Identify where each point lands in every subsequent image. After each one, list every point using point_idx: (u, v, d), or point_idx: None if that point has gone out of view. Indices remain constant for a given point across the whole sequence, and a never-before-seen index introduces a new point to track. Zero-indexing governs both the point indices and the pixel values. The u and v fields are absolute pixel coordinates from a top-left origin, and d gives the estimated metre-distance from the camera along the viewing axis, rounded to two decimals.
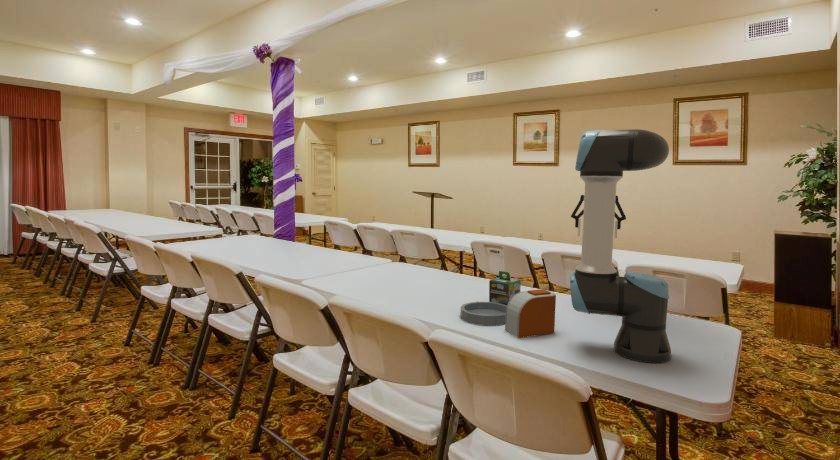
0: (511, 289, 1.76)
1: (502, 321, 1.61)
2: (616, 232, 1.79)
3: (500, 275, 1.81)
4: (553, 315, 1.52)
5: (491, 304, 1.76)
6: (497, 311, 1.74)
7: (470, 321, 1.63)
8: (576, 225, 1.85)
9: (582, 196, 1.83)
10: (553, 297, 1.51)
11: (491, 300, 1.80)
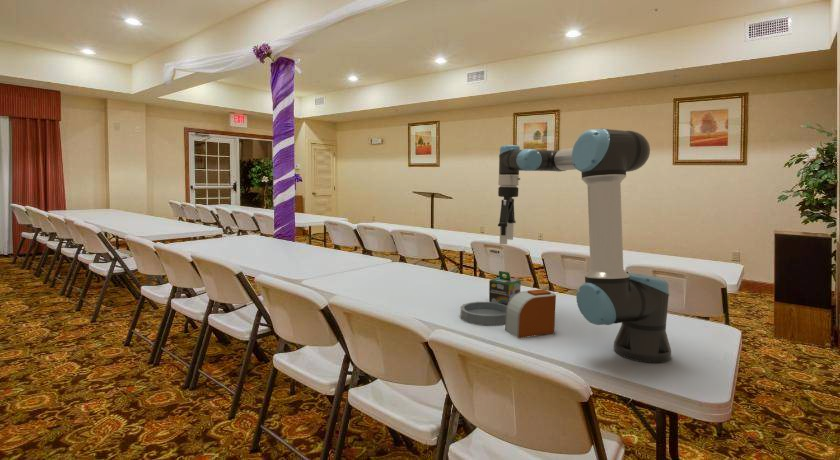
0: (511, 289, 1.76)
1: (502, 321, 1.61)
2: None
3: (500, 275, 1.81)
4: (553, 315, 1.52)
5: (491, 304, 1.76)
6: (497, 311, 1.74)
7: (470, 321, 1.63)
8: None
9: None
10: (553, 297, 1.51)
11: (491, 300, 1.80)
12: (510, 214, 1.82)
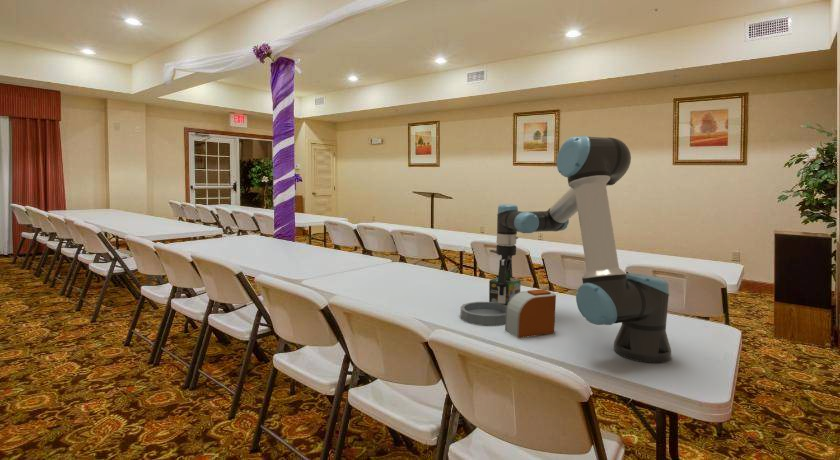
0: (511, 289, 1.76)
1: (502, 321, 1.61)
2: (498, 297, 1.75)
3: None
4: (553, 315, 1.52)
5: (491, 304, 1.76)
6: (497, 311, 1.74)
7: (470, 321, 1.63)
8: None
9: None
10: (553, 297, 1.51)
11: (491, 300, 1.80)
12: (508, 271, 1.84)
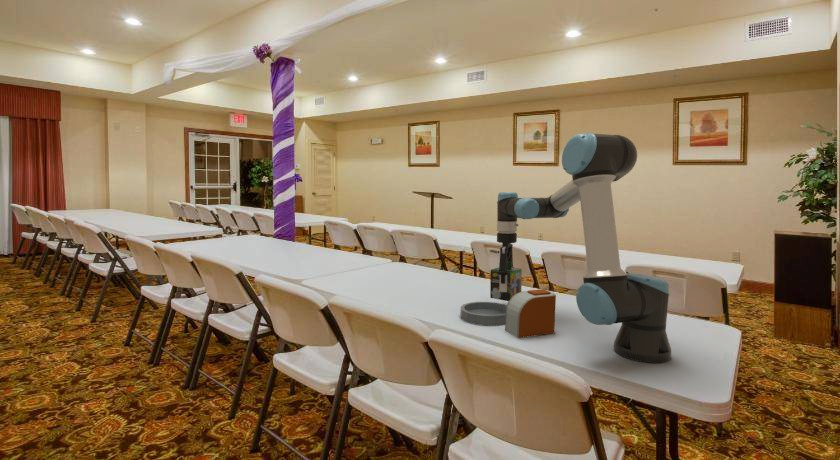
0: (513, 278, 1.75)
1: (502, 321, 1.61)
2: None
3: None
4: (553, 315, 1.52)
5: (491, 304, 1.76)
6: (497, 311, 1.74)
7: (470, 321, 1.63)
8: None
9: None
10: (553, 297, 1.51)
11: (493, 290, 1.79)
12: (508, 260, 1.83)
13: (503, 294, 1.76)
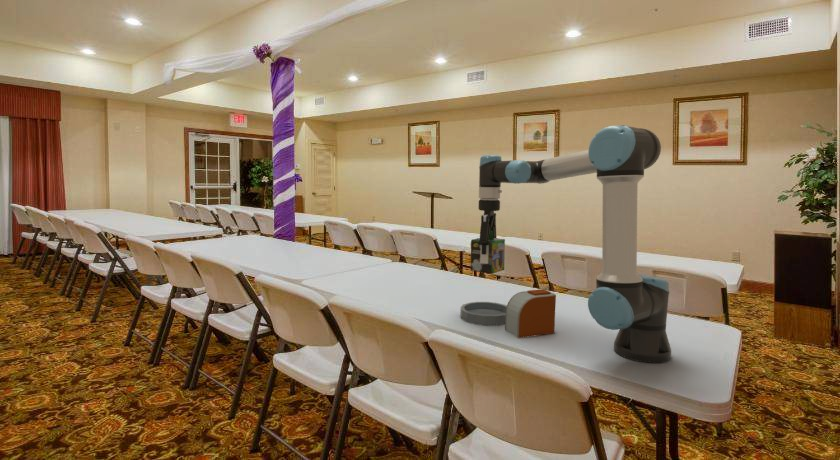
0: (495, 248, 1.62)
1: (502, 321, 1.61)
2: (480, 256, 1.62)
3: None
4: (553, 315, 1.52)
5: (491, 304, 1.76)
6: (497, 311, 1.74)
7: (470, 321, 1.63)
8: None
9: None
10: (553, 297, 1.51)
11: (473, 261, 1.66)
12: (491, 230, 1.69)
13: (484, 266, 1.63)
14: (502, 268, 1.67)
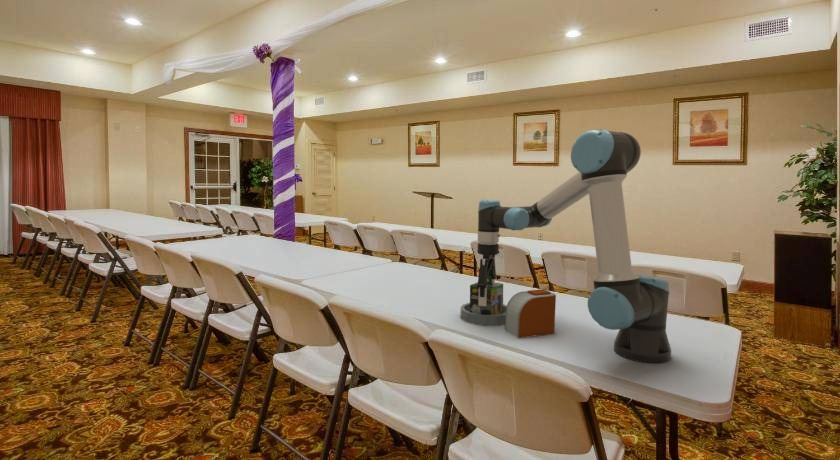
0: (493, 294, 1.63)
1: (502, 321, 1.61)
2: None
3: None
4: (553, 315, 1.52)
5: None
6: None
7: (470, 321, 1.63)
8: None
9: None
10: (553, 297, 1.51)
11: (472, 306, 1.67)
12: (491, 271, 1.71)
13: (483, 312, 1.65)
14: (501, 312, 1.68)
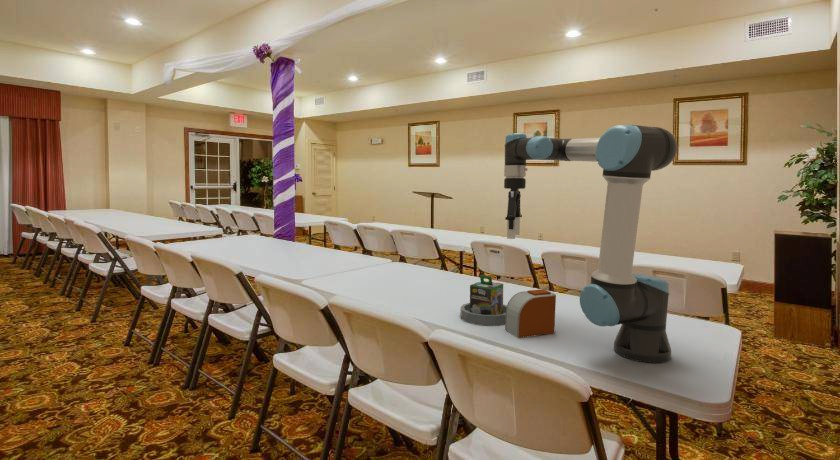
0: (493, 294, 1.63)
1: (502, 321, 1.61)
2: (507, 232, 1.62)
3: (481, 279, 1.68)
4: (553, 315, 1.52)
5: None
6: None
7: (470, 321, 1.63)
8: None
9: None
10: (553, 297, 1.51)
11: (472, 306, 1.67)
12: (516, 207, 1.71)
13: (483, 312, 1.65)
14: (501, 312, 1.68)
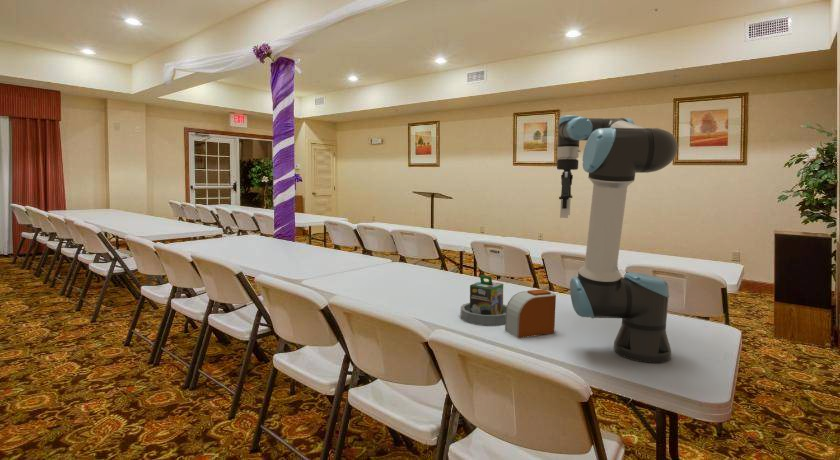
0: (493, 294, 1.63)
1: (502, 321, 1.61)
2: (560, 211, 1.67)
3: (481, 279, 1.68)
4: (553, 315, 1.52)
5: None
6: None
7: (470, 321, 1.63)
8: None
9: None
10: (553, 297, 1.51)
11: (472, 306, 1.67)
12: None
13: (483, 312, 1.65)
14: (501, 312, 1.68)
